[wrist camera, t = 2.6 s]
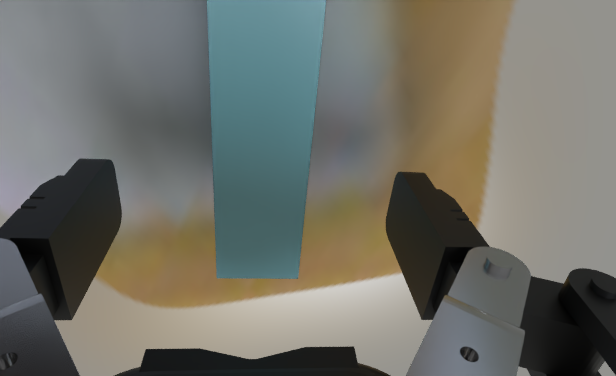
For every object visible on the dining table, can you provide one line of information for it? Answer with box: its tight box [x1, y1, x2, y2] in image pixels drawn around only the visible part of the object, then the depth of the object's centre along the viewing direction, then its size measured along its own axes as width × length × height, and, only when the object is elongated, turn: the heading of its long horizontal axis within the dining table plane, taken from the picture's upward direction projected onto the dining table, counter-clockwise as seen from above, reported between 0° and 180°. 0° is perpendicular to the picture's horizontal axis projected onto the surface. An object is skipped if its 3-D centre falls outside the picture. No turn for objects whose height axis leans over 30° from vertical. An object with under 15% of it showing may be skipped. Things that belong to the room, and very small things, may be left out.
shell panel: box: [207, 0, 326, 279], centre depth 12 cm, size 14×2×6 cm, turn 175°
